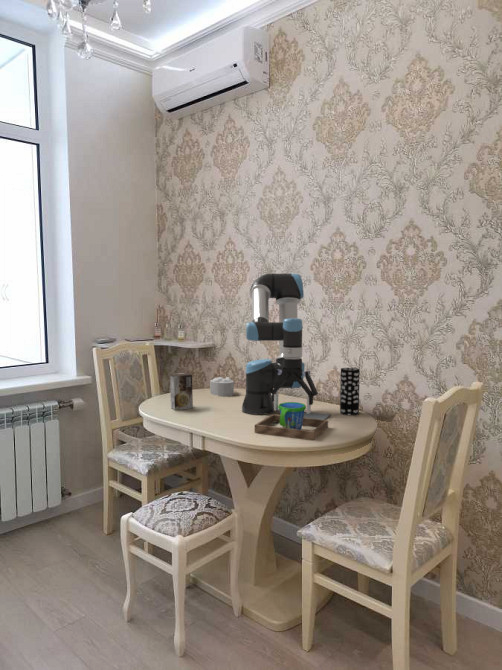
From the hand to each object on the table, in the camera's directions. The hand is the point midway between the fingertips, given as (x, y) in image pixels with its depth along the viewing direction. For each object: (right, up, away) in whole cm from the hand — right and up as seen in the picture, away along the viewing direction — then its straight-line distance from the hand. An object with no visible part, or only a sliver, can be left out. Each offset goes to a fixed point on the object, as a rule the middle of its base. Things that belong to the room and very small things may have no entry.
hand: (292, 411), depth 204 cm
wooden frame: (0, -8, +1) cm, 8 cm away
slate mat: (+9, -6, +20) cm, 23 cm away
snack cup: (0, -8, +1) cm, 8 cm away
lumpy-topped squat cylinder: (-31, -1, +70) cm, 77 cm away
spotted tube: (+28, -5, +29) cm, 41 cm away
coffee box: (-49, -4, +39) cm, 62 cm away
